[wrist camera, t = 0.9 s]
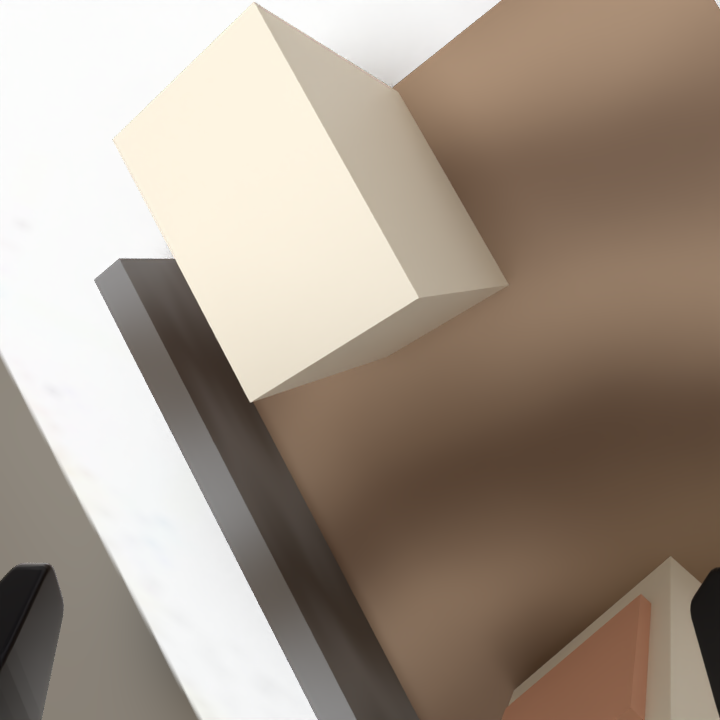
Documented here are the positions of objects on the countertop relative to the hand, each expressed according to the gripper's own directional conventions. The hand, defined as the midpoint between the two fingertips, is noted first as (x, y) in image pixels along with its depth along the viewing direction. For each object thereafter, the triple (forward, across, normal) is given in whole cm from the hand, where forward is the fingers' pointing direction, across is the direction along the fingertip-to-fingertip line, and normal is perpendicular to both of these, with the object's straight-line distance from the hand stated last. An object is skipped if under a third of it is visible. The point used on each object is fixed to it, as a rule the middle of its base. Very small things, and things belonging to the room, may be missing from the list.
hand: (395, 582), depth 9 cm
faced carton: (+12, -1, 0) cm, 12 cm away
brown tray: (+8, -6, +5) cm, 11 cm away
